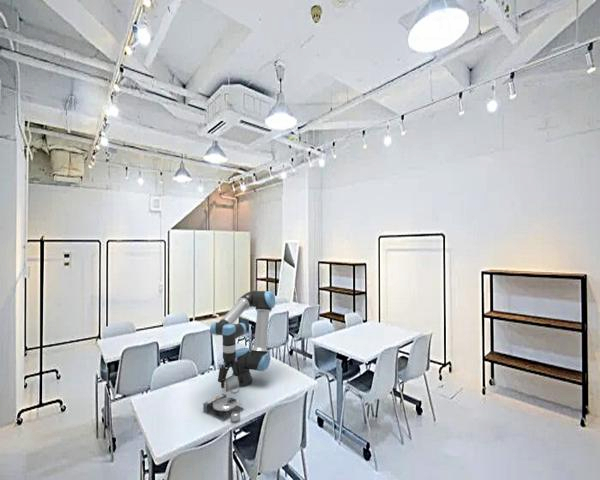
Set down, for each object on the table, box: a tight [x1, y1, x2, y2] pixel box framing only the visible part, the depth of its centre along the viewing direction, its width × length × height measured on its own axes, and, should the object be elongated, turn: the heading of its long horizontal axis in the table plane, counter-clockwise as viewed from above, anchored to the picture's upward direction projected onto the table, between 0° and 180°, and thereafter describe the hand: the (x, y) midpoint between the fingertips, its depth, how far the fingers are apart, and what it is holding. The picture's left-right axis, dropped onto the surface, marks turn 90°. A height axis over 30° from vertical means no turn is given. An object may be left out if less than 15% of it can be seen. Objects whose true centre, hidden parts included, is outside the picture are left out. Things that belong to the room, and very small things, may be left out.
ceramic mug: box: [225, 374, 240, 395], centre depth 192 cm, size 11×8×8 cm
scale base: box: [202, 393, 245, 422], centre depth 193 cm, size 15×18×5 cm
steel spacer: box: [230, 411, 241, 424], centre depth 183 cm, size 5×5×4 cm
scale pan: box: [213, 397, 238, 411], centre depth 192 cm, size 14×14×3 cm
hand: (229, 389), depth 193 cm, fingers closed on ceramic mug, 9 cm apart
